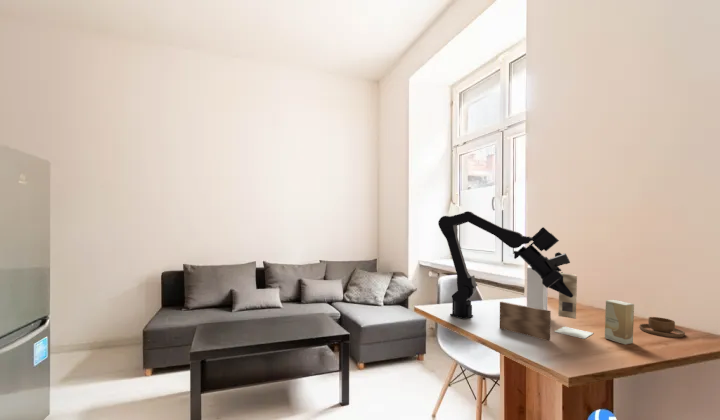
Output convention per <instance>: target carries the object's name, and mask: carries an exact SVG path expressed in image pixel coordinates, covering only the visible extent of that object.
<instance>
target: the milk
mask: <svg viewBox="0 0 720 420" xmlns="http://www.w3.org/2000/svg"><path fill="white" fill-rule="evenodd" d="M548 291H549V290H548V288H546V287H545V286H544V285H543V284H542V278H541V276H540V275H539V274H538V273H537V272H536V271H535V270H534V271H533V270H532V269H531V267H530V266H529V265H527V267H526V306H527V307H532V308H537V309H543V310H548V295H549V294H548Z"/></svg>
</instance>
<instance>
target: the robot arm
mask: <svg viewBox="0 0 720 420" xmlns="http://www.w3.org/2000/svg"><path fill="white" fill-rule="evenodd" d="M466 223H469V224H472V225H473V226H475V227H477V228H479V229H481V230H483V231H485V232H486V233H489V234H491V235H493V236H495V237H496V238H497V239H498V240H500V241H501V242H502V243H504V244H505V245H506V246H507V247H509V248H511V249H518V248H519V249H518V250H513V254H514V257H513V258H514V259H515V260H516V259H517V258H519V257H520V258H521V259H522V260H523V261H524V262H525V263H527V264H528V265H529V266H530V267H531V269H532V270H533V271H534V270H535V271H536V272H537V273H538V274H539V275H540V276H541V278H542V284H543V285H544V286H545V287H546V288H549V289H551V290H554V291H556V292H557V293H559V292H560V293H562V294H564V295H566V296H568V297H570V298H571V297H573V294H572V293H571V291H570V290H569V289H568V287H567V286H566V285H565V283H564V282H563V275H562V274H561V273H564V272H563V271H562V269H561V268H560V267H561V266H563V265H568V264H570V263H571V261H570V259H569V257H568V256H567V253H561V252H560V251H558V252H556V253H554V256H553V257H550V258H548V257H547V256H544V255H543V254H542V253H541V252H542V251H545V252H547V251H549V249H551V248H552V247H553V246H554V245H556V244H557V243H558V242H559V241H560V240H559V239H558V238H557V237H556V236H554V234H553V233H552V232H549V230H547V229H546V228H545V226H544V227H543V226H542V227H541V228H540V229H539V231H538V232H536V233H535V234H534V235H533V236H527V235H526V236H525V235H523V234H522V233H520V232H518V231H515V230H512V229H508V228H504V227H501V226H500V225H498V224H495V223H494V222H491V221H489V220H487V219H485V218H483V217H481V216H479V215H477V214H475V213H474V212H472V211H465V212H462V213H459V214H455V215H451V216H449V215H443V216H441V217H440V218H439V220H438V227H439V229H440V231H441V233H442V235H443V236H444V238H445V239H446V242H447V244H448V249H449V252H450V255H451V259H452V263H453V267H454V269H455V272H456V273H455V274H456V286H457V288H456V290H457V291H456V292H454V293H453V294H451V298H452V299H451V300H452V307H451V309H452V310H451V311H452V313H450V314H449V316H451V317H454V318H455V317H456V318H459V319H468V318H471V317H472V318H473V317H474V314H473V305H472V300H470V299H471V297H472V296H474V294H475V293H476V291H477V287H478V284H477V283H476V278H475V275H474V274H473V275H470V273H469V271H468V268H467V265H466V261H465V258H464V255H463V251H462V247H461V244H460V241H459V238H458V232H459V231H458V230H459V229H458V226H460V225H463V224H466ZM530 243H531V244H530ZM528 244H529V245H528ZM523 245H528V246H523ZM521 246H522V247H521ZM528 265H527V266H528Z"/></svg>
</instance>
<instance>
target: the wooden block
mask: <svg viewBox="0 0 720 420" xmlns="http://www.w3.org/2000/svg"><path fill="white" fill-rule="evenodd" d="M560 273H561V272H560ZM561 274H562V275H563V282H564V283H565V285H566V286H567V287H568V289H569V290H570V291H571V293H572V294H573V297H571V298H570V297H568V296H566V295H564V294H562V293H560V292H558V310H557V312H558V317H562V318H569V319H577V291H578V290H577V289H578V285H577V284H578V275H577V274H576V273H566V272H563V273H561Z"/></svg>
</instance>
